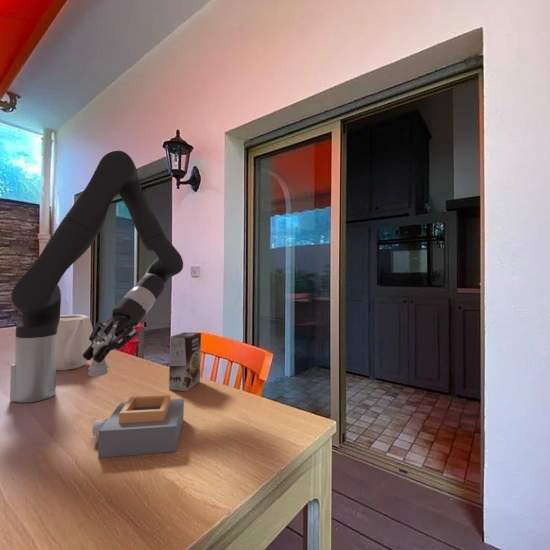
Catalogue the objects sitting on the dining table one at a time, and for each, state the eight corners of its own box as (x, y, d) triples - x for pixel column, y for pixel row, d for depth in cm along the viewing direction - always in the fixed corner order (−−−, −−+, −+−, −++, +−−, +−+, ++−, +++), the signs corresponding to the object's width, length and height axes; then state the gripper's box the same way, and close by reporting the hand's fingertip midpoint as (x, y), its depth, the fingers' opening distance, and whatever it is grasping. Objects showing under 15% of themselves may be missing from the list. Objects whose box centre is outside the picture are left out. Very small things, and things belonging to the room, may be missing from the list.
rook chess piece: (87, 377, 74) (88, 344, 74) (88, 372, 78) (89, 340, 78) (108, 375, 76) (109, 342, 77) (108, 370, 80) (109, 339, 81)
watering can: (53, 381, 101) (55, 322, 101) (33, 364, 118) (34, 314, 118) (105, 370, 112) (106, 318, 112) (80, 357, 130) (81, 311, 130)
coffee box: (187, 391, 93) (188, 337, 93) (168, 389, 95) (169, 336, 95) (201, 381, 102) (202, 332, 102) (182, 380, 103) (183, 331, 104)
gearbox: (80, 459, 58) (81, 421, 58) (106, 424, 72) (107, 393, 72) (175, 451, 61) (176, 415, 61) (183, 419, 75) (184, 390, 75)
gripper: (109, 295, 87) (61, 347, 76) (145, 298, 81) (100, 355, 70) (125, 312, 92) (82, 363, 81) (160, 316, 86) (119, 372, 75)
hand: (91, 359), depth 76 cm, fingers closed on rook chess piece, 3 cm apart
